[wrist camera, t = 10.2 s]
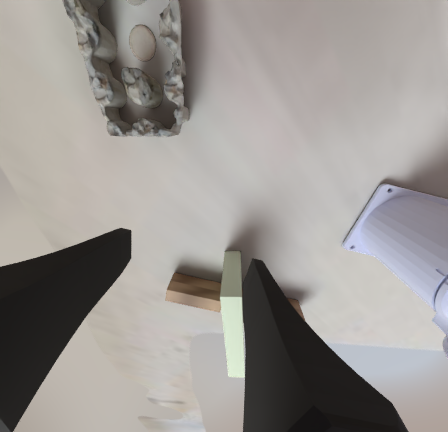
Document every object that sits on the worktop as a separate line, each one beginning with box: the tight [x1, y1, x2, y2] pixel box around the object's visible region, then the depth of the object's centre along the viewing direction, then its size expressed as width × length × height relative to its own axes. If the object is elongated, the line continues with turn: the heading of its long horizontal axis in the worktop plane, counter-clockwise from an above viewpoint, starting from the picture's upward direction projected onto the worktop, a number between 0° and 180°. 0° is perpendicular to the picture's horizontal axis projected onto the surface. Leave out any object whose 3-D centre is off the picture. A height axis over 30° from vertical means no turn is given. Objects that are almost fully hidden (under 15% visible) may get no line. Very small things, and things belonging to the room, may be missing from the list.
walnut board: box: [165, 273, 305, 320], centre depth 24 cm, size 18×2×3 cm, turn 77°
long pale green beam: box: [220, 251, 245, 378], centre depth 23 cm, size 14×2×7 cm, turn 4°
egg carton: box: [63, 0, 189, 137], centre depth 14 cm, size 11×8×4 cm
